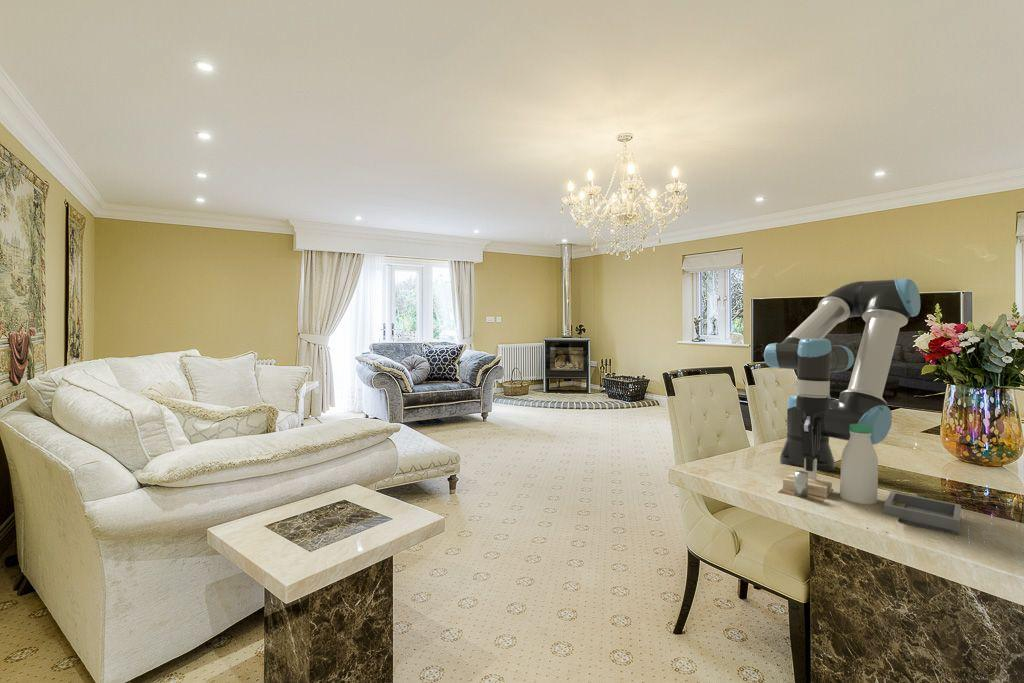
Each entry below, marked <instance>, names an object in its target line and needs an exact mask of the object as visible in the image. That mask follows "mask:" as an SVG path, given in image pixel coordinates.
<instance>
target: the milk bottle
mask: <svg viewBox="0 0 1024 683" xmlns="http://www.w3.org/2000/svg"><path fill="white" fill-rule="evenodd" d="M849 430H850V432H849V433H850V438H849V441H847V443H846V444H845V446H844V448H843V449H842V453H841V460H840V476H839V477H840V480H839V482H840V483H839V486H840V487H839V498H841V499H843V500H845V501H848V502H850V503H855V504H861V505H876V504H877V503H878V486H879V484H878V483H879V459H878V458H879V457H878V455H877V452H876V450H875V448H874V446H873V445H874V444H872V443H871V439H870V436H871V435H872V434H871V432H872V427H871V426H868V425H863V424H850V426H849Z"/></svg>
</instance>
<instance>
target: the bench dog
mask: <svg viewBox="0 0 1024 683" xmlns="http://www.w3.org/2000/svg"><path fill="white" fill-rule="evenodd" d="M794 475H795V476H794V495H795V496H794V497H796V496H797V498H800V497H802V499H805V498H806V497H808V473H807V472H804V470H803V471H802V470H795V471H794Z"/></svg>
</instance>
